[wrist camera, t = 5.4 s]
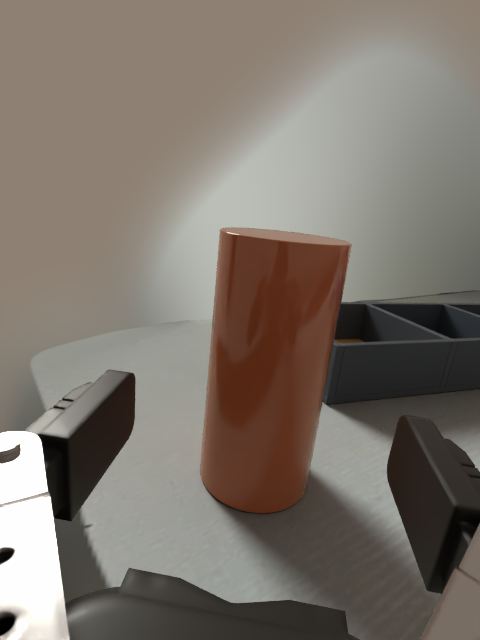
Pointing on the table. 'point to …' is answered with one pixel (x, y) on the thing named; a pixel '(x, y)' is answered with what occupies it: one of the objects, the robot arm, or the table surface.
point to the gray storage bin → (403, 350)
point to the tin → (269, 363)
